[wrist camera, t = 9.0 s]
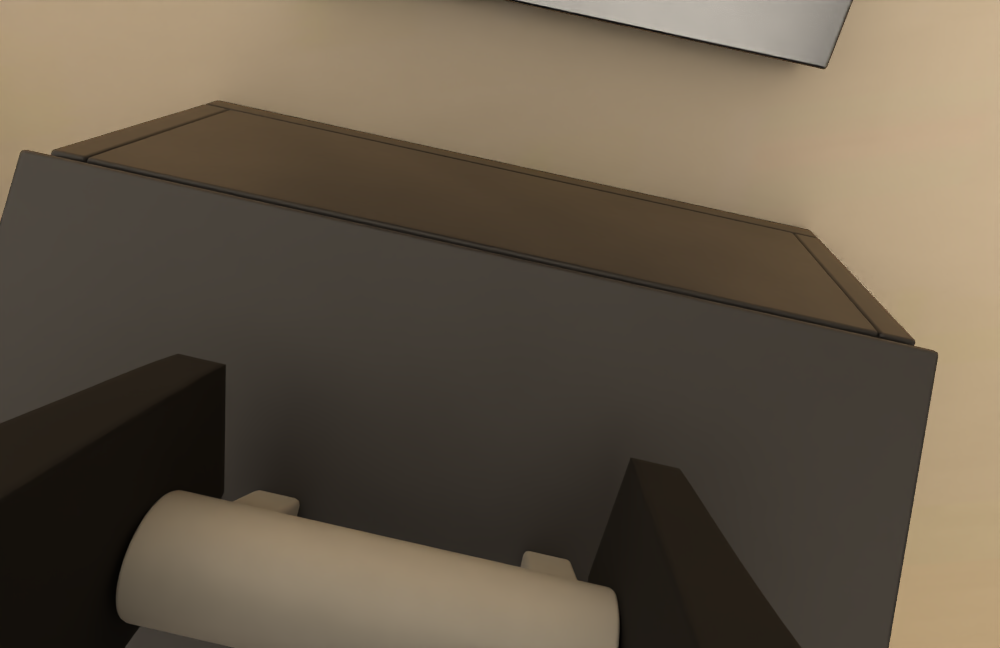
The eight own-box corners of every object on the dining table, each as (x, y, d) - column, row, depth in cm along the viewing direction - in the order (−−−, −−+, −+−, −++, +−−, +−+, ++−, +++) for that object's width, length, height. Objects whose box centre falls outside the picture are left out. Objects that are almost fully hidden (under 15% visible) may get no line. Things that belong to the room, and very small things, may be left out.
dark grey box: (667, 571, 21) (693, 755, 16) (217, 469, 21) (102, 619, 16) (811, 229, 16) (918, 341, 11) (216, 99, 16) (48, 149, 11)
